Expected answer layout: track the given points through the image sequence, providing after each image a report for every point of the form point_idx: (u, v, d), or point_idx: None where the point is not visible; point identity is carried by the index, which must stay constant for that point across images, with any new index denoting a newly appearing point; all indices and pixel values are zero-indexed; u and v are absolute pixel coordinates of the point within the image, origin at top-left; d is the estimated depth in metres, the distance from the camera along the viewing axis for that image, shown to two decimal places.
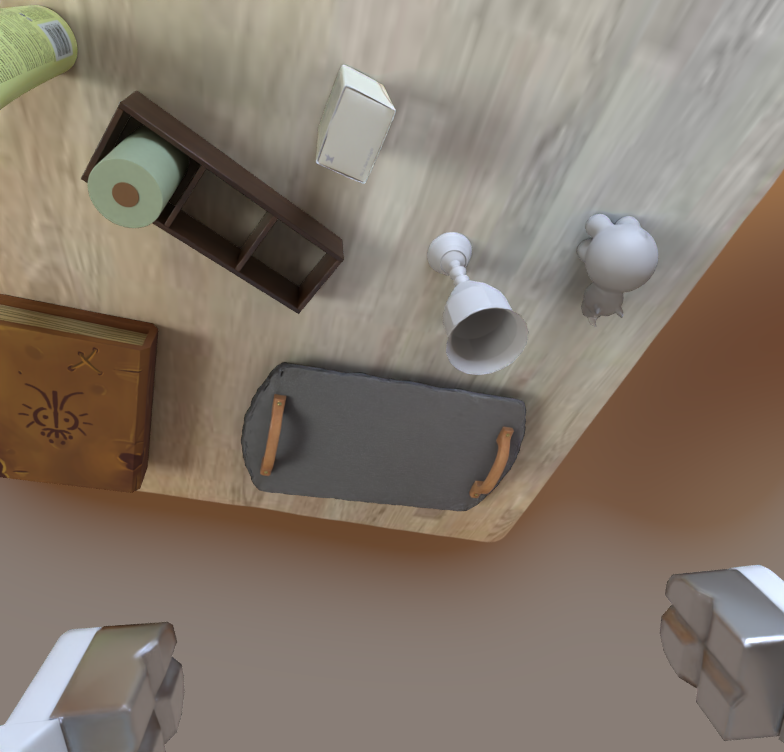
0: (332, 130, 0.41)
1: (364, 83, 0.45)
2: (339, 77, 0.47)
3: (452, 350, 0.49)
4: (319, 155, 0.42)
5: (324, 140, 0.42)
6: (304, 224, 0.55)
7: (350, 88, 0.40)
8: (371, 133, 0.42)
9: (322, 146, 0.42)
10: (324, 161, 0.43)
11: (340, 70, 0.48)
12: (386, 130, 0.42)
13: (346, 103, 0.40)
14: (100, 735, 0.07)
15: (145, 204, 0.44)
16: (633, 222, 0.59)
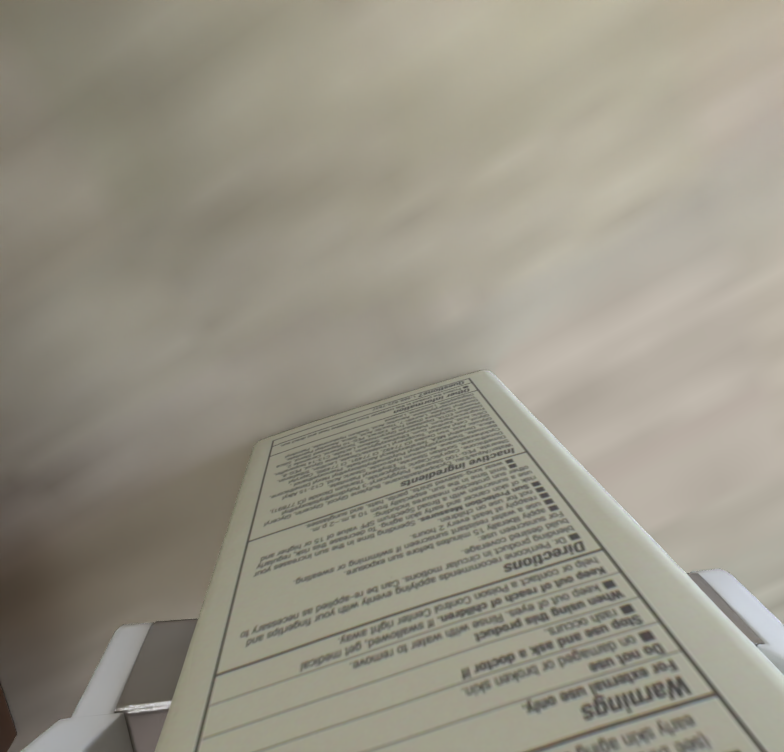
0: None
1: None
2: (513, 438, 0.10)
3: None
4: None
5: None
6: None
7: None
8: None
9: None
10: None
11: (492, 392, 0.12)
12: None
13: None
14: None
15: None
16: None
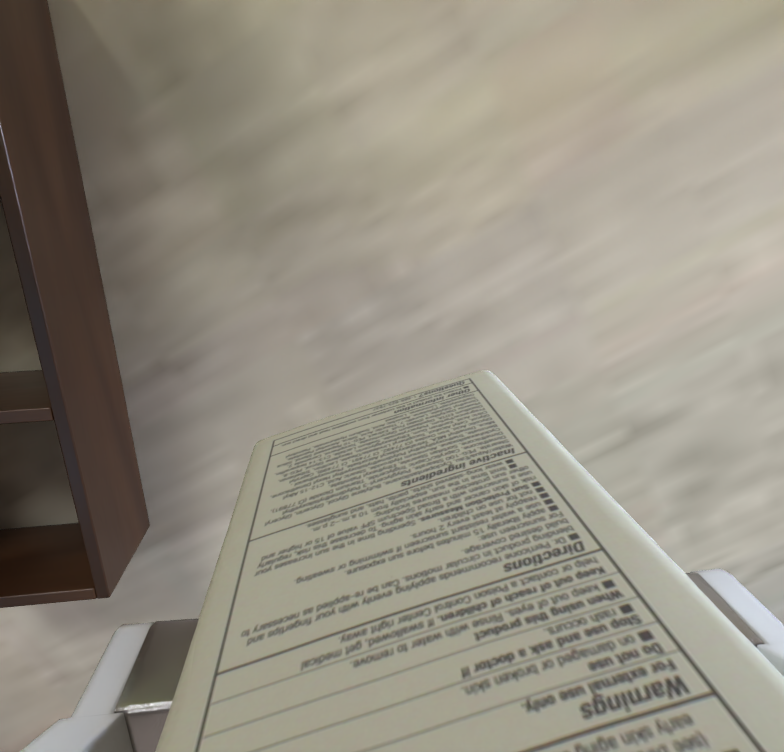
0: None
1: None
2: (513, 438, 0.10)
3: None
4: None
5: None
6: (103, 465, 0.22)
7: None
8: None
9: None
10: None
11: (493, 392, 0.12)
12: None
13: None
14: None
15: None
16: None
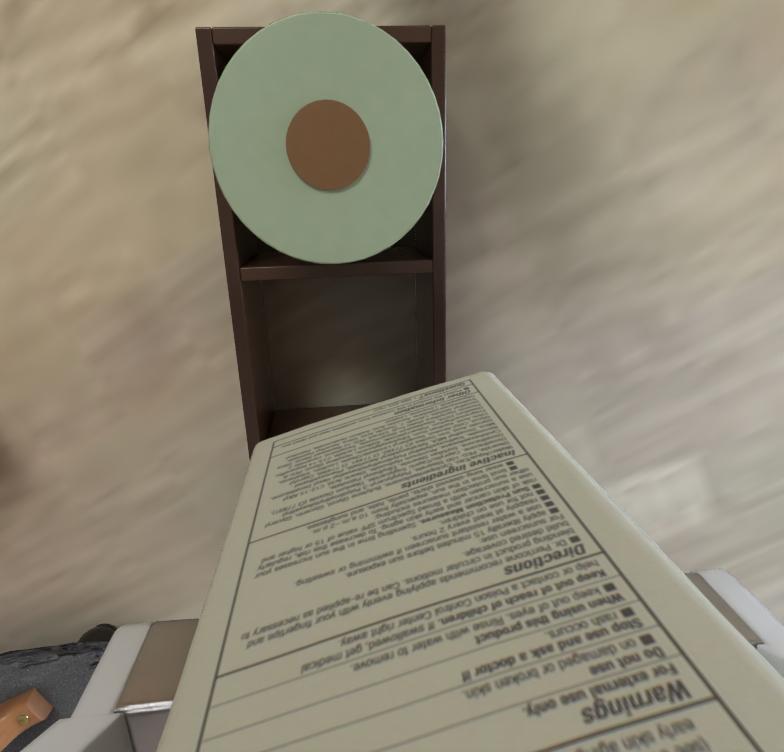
0: None
1: None
2: (514, 440, 0.10)
3: None
4: None
5: None
6: None
7: None
8: None
9: None
10: None
11: (493, 393, 0.12)
12: None
13: None
14: (163, 728, 0.07)
15: (339, 212, 0.14)
16: None
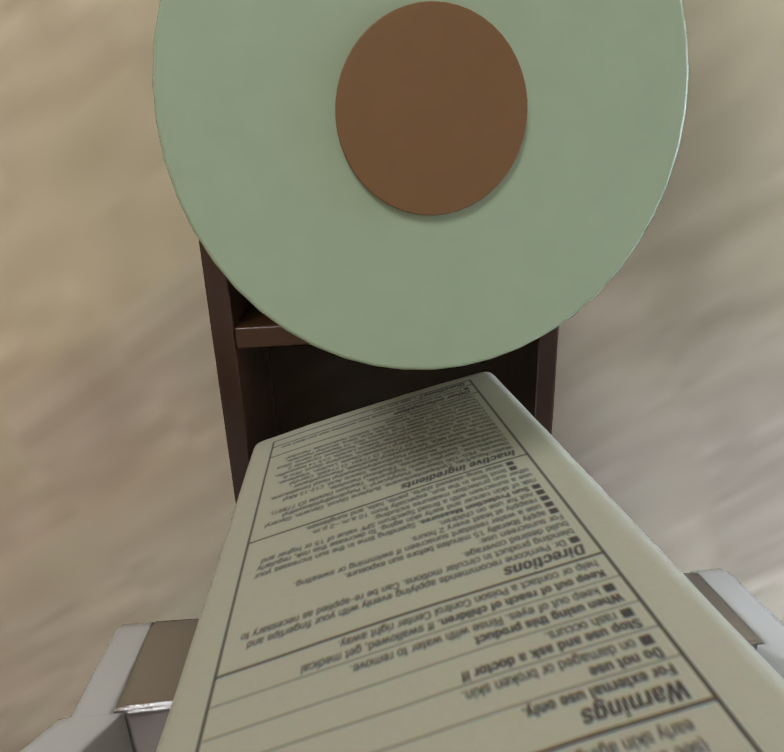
0: None
1: None
2: (514, 440, 0.10)
3: None
4: None
5: None
6: None
7: None
8: None
9: None
10: None
11: (493, 393, 0.12)
12: None
13: None
14: (163, 728, 0.07)
15: (447, 263, 0.06)
16: None
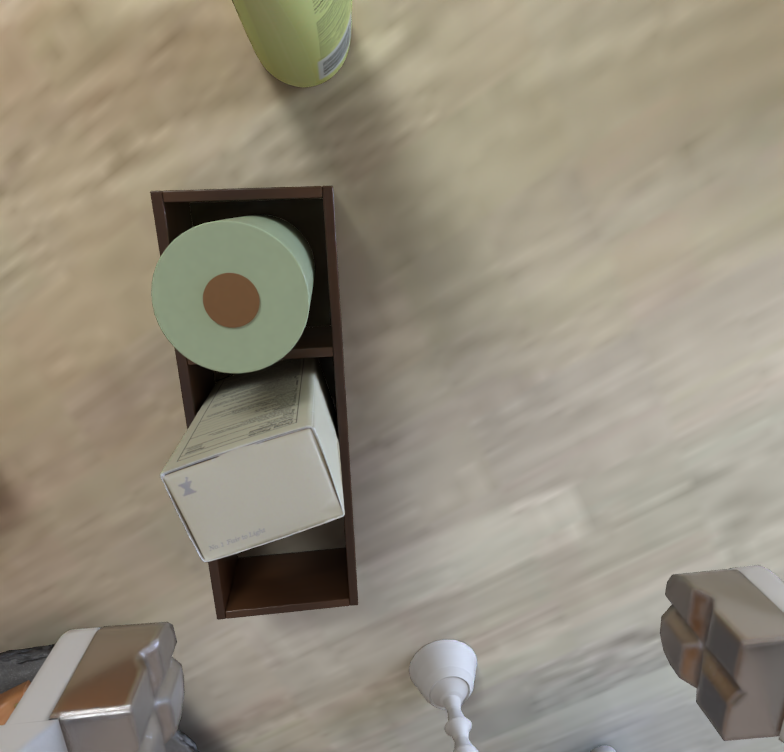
0: (233, 458, 0.21)
1: (327, 414, 0.27)
2: (301, 371, 0.28)
3: None
4: (176, 469, 0.21)
5: (206, 458, 0.21)
6: None
7: (315, 435, 0.21)
8: (283, 511, 0.22)
9: (194, 463, 0.21)
10: (174, 484, 0.21)
11: (307, 358, 0.31)
12: (308, 525, 0.22)
13: (289, 446, 0.21)
14: (100, 735, 0.07)
15: (241, 341, 0.20)
16: None
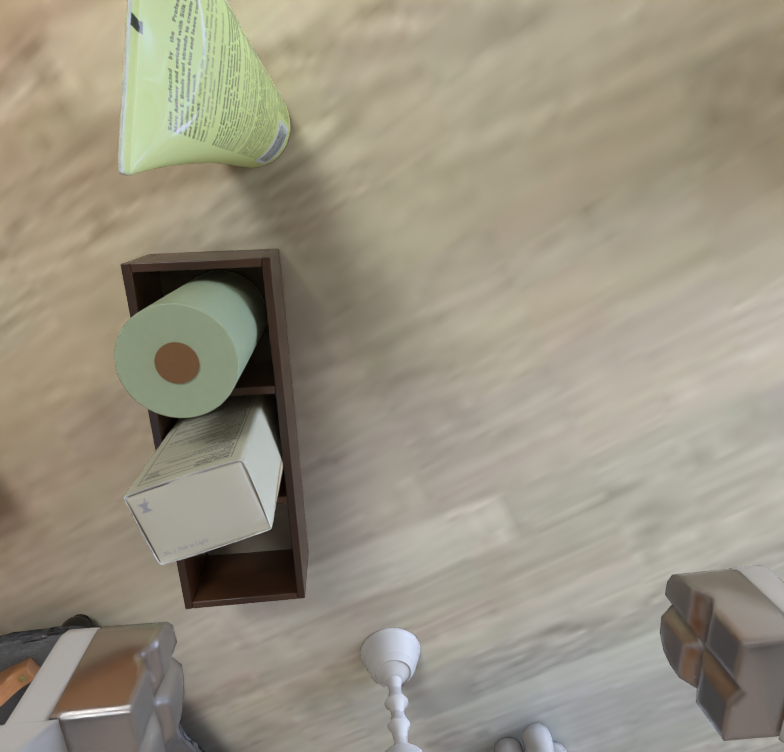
0: (180, 484, 0.26)
1: (269, 442, 0.32)
2: (251, 404, 0.34)
3: None
4: (136, 493, 0.26)
5: (159, 484, 0.26)
6: (300, 523, 0.38)
7: (244, 466, 0.27)
8: (222, 525, 0.27)
9: (150, 488, 0.26)
10: (135, 504, 0.26)
11: None
12: (243, 536, 0.28)
13: (224, 475, 0.26)
14: (100, 735, 0.07)
15: (185, 393, 0.26)
16: None
